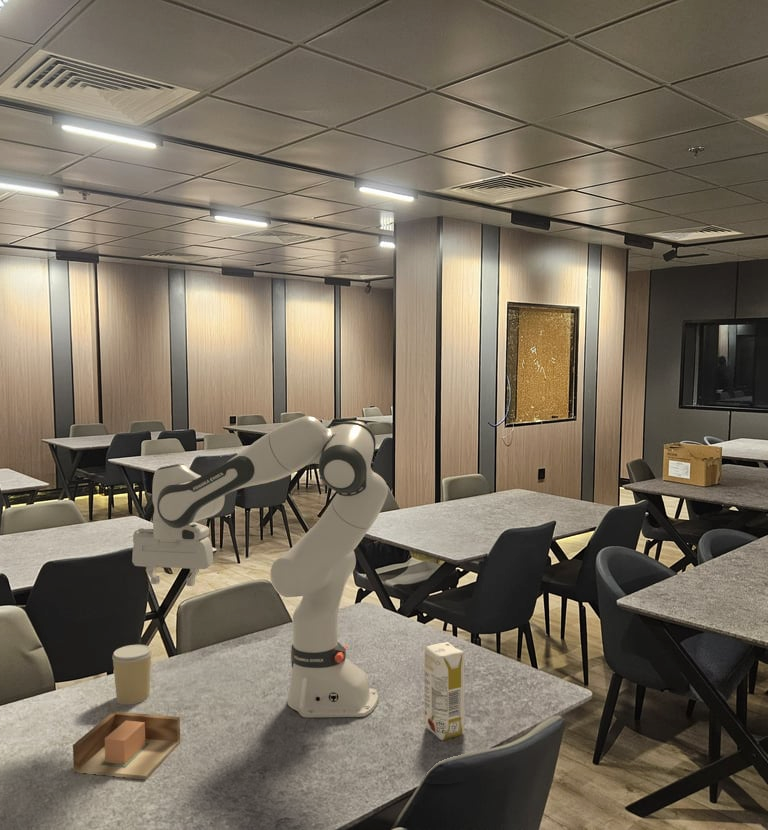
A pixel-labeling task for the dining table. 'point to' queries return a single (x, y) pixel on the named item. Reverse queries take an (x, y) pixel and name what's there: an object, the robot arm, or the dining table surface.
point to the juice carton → (444, 690)
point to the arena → (158, 745)
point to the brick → (124, 742)
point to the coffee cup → (132, 673)
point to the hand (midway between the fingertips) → (173, 584)
